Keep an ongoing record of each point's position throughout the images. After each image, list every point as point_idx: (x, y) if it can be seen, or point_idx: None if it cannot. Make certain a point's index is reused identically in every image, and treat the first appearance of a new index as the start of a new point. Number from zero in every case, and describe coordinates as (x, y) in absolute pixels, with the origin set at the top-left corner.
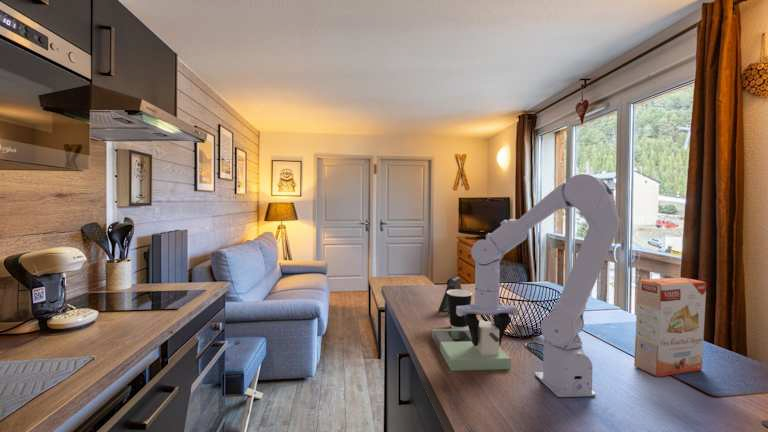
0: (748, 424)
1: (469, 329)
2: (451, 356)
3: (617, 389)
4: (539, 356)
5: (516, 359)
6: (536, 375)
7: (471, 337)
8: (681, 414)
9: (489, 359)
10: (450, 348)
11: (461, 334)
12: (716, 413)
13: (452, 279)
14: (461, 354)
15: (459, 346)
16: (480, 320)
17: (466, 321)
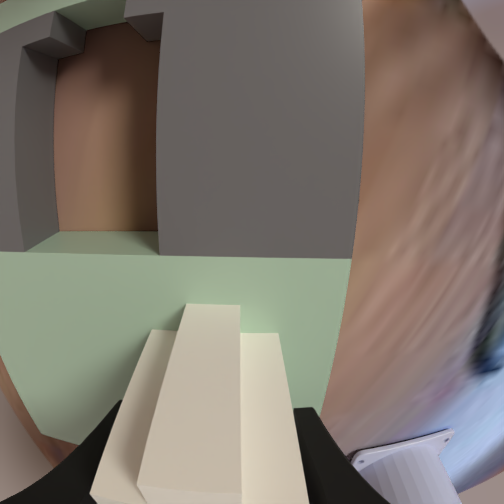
0: (498, 473)
1: (66, 463)
2: (36, 415)
3: (470, 454)
4: (490, 315)
5: (387, 351)
6: (352, 462)
7: (102, 424)
8: (465, 483)
9: None
10: (17, 347)
11: (143, 23)
12: (500, 466)
13: None
14: (72, 415)
15: (56, 333)
16: (180, 496)
17: (18, 502)
